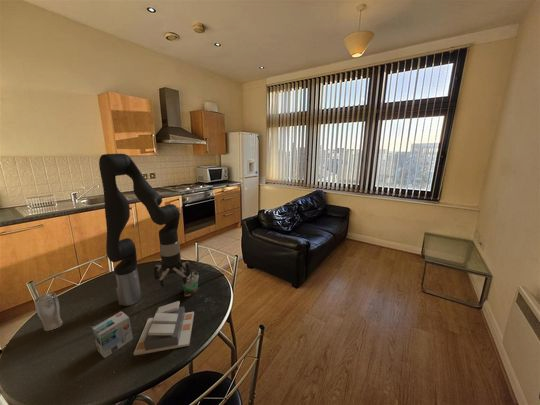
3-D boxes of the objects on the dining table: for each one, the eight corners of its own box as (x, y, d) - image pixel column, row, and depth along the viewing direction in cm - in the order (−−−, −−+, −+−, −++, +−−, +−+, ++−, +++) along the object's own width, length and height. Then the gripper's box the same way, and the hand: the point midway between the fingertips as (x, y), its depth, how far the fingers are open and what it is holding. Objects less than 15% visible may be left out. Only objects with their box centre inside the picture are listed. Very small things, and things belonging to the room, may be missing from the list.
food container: (195, 299, 114) (193, 282, 112) (183, 299, 114) (181, 282, 112) (202, 285, 126) (201, 269, 124) (192, 284, 126) (190, 269, 124)
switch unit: (133, 355, 83) (131, 343, 82) (148, 320, 100) (146, 309, 99) (189, 345, 88) (187, 333, 86) (194, 313, 105) (193, 303, 103)
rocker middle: (152, 323, 89) (152, 320, 89) (155, 315, 93) (155, 312, 93) (175, 323, 92) (176, 321, 91) (177, 316, 96) (178, 313, 95)
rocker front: (147, 335, 84) (148, 332, 83) (151, 326, 88) (151, 323, 87) (173, 335, 86) (173, 332, 86) (175, 326, 90) (175, 324, 90)
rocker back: (157, 316, 95) (156, 314, 95) (159, 309, 100) (158, 307, 99) (178, 309, 97) (177, 307, 96) (179, 302, 101) (178, 300, 101)
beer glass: (68, 322, 99) (60, 294, 95) (48, 334, 93) (39, 304, 89) (58, 318, 101) (50, 290, 97) (38, 330, 95) (29, 300, 91)
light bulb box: (104, 359, 82) (98, 335, 79) (96, 350, 86) (91, 327, 83) (134, 338, 91) (129, 316, 88) (125, 331, 94) (121, 310, 92)
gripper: (149, 257, 87) (154, 292, 91) (186, 253, 90) (190, 287, 94) (154, 249, 94) (159, 282, 98) (189, 246, 98) (192, 278, 102)
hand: (174, 285), depth 96 cm, fingers open, 8 cm apart
